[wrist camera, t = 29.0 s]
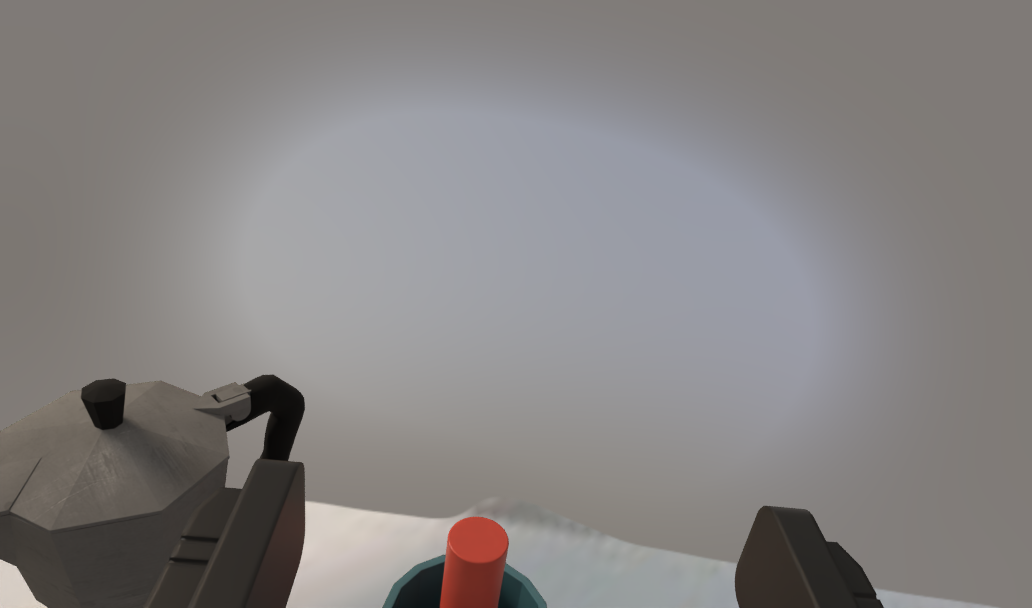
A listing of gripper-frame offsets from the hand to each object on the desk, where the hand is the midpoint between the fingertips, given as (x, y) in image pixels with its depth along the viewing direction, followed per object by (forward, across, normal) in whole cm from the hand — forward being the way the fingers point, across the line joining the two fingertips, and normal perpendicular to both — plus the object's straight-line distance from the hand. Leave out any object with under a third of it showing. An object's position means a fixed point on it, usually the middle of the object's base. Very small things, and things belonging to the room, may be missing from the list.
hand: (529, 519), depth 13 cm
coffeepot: (+15, +15, +27) cm, 34 cm away
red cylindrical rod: (+11, 0, +26) cm, 28 cm away
